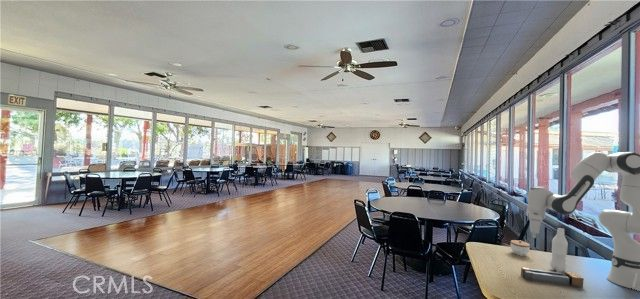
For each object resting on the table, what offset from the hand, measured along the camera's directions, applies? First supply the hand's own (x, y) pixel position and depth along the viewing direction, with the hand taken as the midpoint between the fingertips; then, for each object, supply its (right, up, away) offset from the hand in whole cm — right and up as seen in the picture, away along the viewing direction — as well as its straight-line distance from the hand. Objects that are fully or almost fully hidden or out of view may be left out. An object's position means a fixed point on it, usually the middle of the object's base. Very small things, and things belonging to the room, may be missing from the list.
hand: (534, 237), depth 168 cm
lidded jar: (+8, -19, +24) cm, 32 cm away
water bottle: (+14, -20, 0) cm, 24 cm away
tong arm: (-3, -19, -11) cm, 22 cm away
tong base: (-1, -19, -13) cm, 24 cm away
